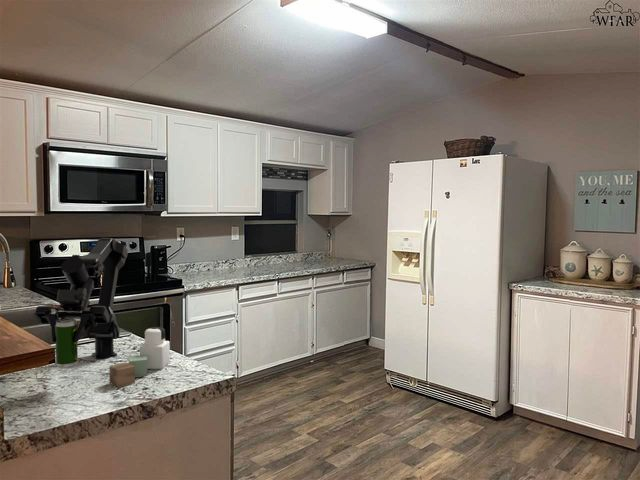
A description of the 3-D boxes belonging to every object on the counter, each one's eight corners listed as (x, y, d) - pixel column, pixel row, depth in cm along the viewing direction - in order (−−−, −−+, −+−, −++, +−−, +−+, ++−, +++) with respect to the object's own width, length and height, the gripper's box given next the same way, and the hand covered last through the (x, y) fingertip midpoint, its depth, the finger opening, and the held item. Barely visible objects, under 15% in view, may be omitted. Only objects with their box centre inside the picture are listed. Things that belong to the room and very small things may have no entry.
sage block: (128, 372, 151) (128, 356, 151) (146, 371, 153) (146, 354, 153) (129, 378, 147) (129, 361, 147) (147, 376, 149) (147, 359, 148)
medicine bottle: (148, 361, 162) (148, 325, 161) (170, 362, 162) (169, 325, 161) (139, 368, 155) (139, 330, 154) (162, 369, 155) (162, 331, 154)
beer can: (57, 368, 134) (56, 324, 133) (54, 362, 138) (53, 320, 137) (79, 365, 137) (78, 321, 136) (76, 359, 141) (75, 317, 140)
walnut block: (109, 383, 142) (109, 366, 142) (126, 379, 146) (126, 362, 146) (117, 387, 139) (117, 370, 139) (134, 383, 143) (134, 366, 142)
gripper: (36, 277, 139) (16, 326, 129) (105, 277, 140) (91, 326, 130) (49, 299, 147) (32, 347, 137) (115, 299, 149) (102, 347, 139)
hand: (64, 341), depth 136 cm, fingers closed on beer can, 5 cm apart
